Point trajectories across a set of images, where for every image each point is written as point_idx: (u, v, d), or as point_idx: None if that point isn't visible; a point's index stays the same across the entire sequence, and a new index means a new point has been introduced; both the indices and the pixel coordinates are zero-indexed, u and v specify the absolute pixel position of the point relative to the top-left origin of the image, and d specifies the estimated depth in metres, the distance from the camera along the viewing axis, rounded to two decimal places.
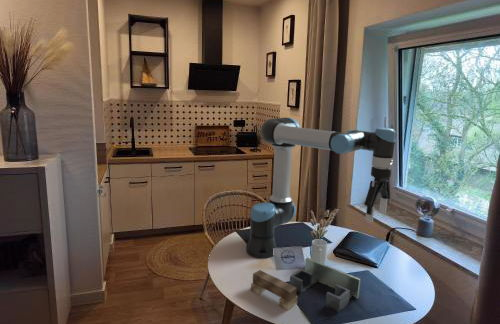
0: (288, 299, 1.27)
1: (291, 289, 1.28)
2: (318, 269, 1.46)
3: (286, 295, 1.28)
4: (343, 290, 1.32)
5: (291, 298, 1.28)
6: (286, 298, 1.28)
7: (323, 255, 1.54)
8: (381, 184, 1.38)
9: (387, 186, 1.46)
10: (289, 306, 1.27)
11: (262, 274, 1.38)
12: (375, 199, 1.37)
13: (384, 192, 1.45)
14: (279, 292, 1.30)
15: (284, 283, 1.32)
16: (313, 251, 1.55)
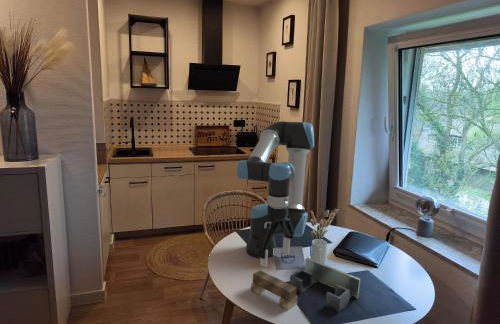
0: (288, 299, 1.27)
1: (291, 289, 1.28)
2: (318, 269, 1.46)
3: (286, 295, 1.28)
4: (343, 290, 1.32)
5: (291, 298, 1.28)
6: (286, 298, 1.28)
7: (323, 255, 1.54)
8: (276, 225, 1.26)
9: (289, 225, 1.34)
10: (289, 306, 1.27)
11: (262, 274, 1.38)
12: (269, 242, 1.25)
13: (285, 232, 1.33)
14: (279, 292, 1.30)
15: (284, 283, 1.32)
16: (313, 251, 1.55)
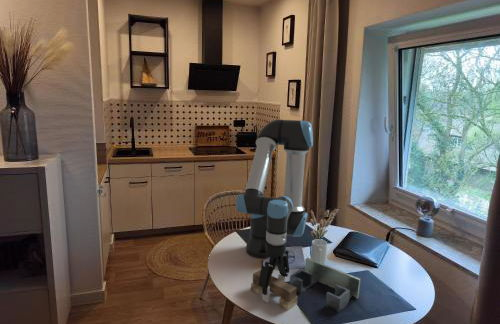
0: (288, 299, 1.27)
1: (291, 289, 1.28)
2: (318, 269, 1.46)
3: (286, 295, 1.28)
4: (343, 290, 1.32)
5: (291, 298, 1.28)
6: (286, 298, 1.28)
7: (323, 255, 1.54)
8: (275, 261, 1.29)
9: (285, 261, 1.36)
10: (289, 306, 1.27)
11: None
12: (270, 278, 1.29)
13: (281, 268, 1.35)
14: (279, 292, 1.30)
15: (284, 283, 1.32)
16: (313, 251, 1.55)
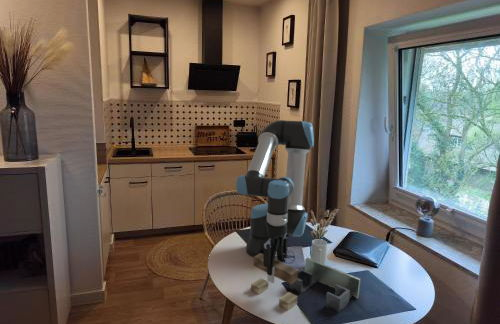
0: (289, 281, 1.27)
1: (292, 271, 1.27)
2: (318, 269, 1.46)
3: (287, 277, 1.27)
4: (343, 290, 1.32)
5: (292, 280, 1.27)
6: (287, 280, 1.27)
7: (323, 255, 1.54)
8: (276, 242, 1.28)
9: (285, 245, 1.34)
10: (289, 306, 1.27)
11: None
12: (273, 259, 1.29)
13: (280, 251, 1.33)
14: (281, 275, 1.29)
15: (285, 266, 1.31)
16: (313, 251, 1.55)
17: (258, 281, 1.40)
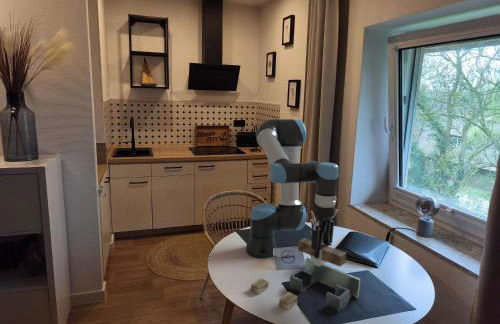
0: (338, 264, 1.26)
1: (341, 254, 1.27)
2: (318, 269, 1.46)
3: (336, 259, 1.26)
4: (343, 290, 1.32)
5: (341, 263, 1.26)
6: (336, 263, 1.27)
7: None
8: (324, 224, 1.28)
9: (331, 228, 1.34)
10: (289, 306, 1.27)
11: (308, 241, 1.36)
12: (321, 241, 1.29)
13: (326, 235, 1.32)
14: (329, 258, 1.28)
15: (332, 249, 1.30)
16: None
17: (258, 281, 1.40)
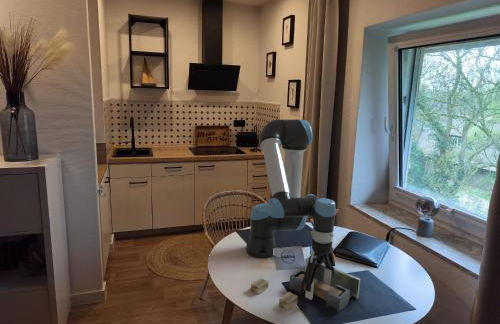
0: None
1: (338, 293, 1.30)
2: (318, 269, 1.46)
3: None
4: (343, 290, 1.32)
5: None
6: None
7: None
8: (321, 258, 1.30)
9: (331, 257, 1.38)
10: (289, 306, 1.27)
11: None
12: (314, 275, 1.29)
13: (327, 264, 1.37)
14: None
15: (329, 287, 1.34)
16: (313, 251, 1.55)
17: (258, 281, 1.40)
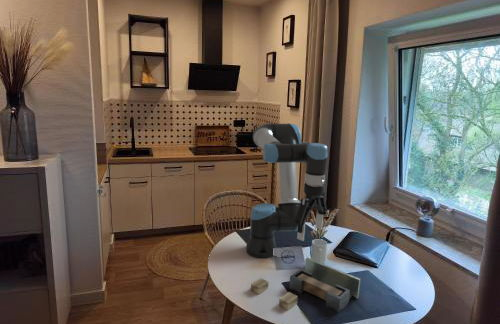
0: None
1: (338, 293, 1.30)
2: (318, 269, 1.46)
3: None
4: (343, 290, 1.32)
5: None
6: None
7: (323, 255, 1.54)
8: (313, 201, 1.34)
9: (322, 202, 1.42)
10: (289, 306, 1.27)
11: (306, 278, 1.40)
12: (306, 217, 1.33)
13: (319, 208, 1.41)
14: None
15: (329, 287, 1.34)
16: (313, 251, 1.55)
17: (258, 281, 1.40)
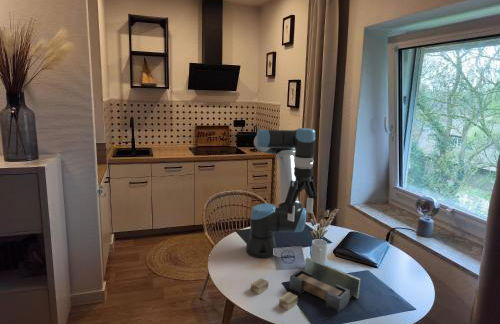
0: None
1: (338, 293, 1.30)
2: (318, 269, 1.46)
3: None
4: (343, 290, 1.32)
5: None
6: None
7: (323, 255, 1.54)
8: (302, 184, 1.40)
9: (312, 186, 1.48)
10: (289, 306, 1.27)
11: (306, 278, 1.40)
12: (296, 198, 1.39)
13: (309, 191, 1.47)
14: None
15: (329, 287, 1.34)
16: (313, 251, 1.55)
17: (258, 281, 1.40)
